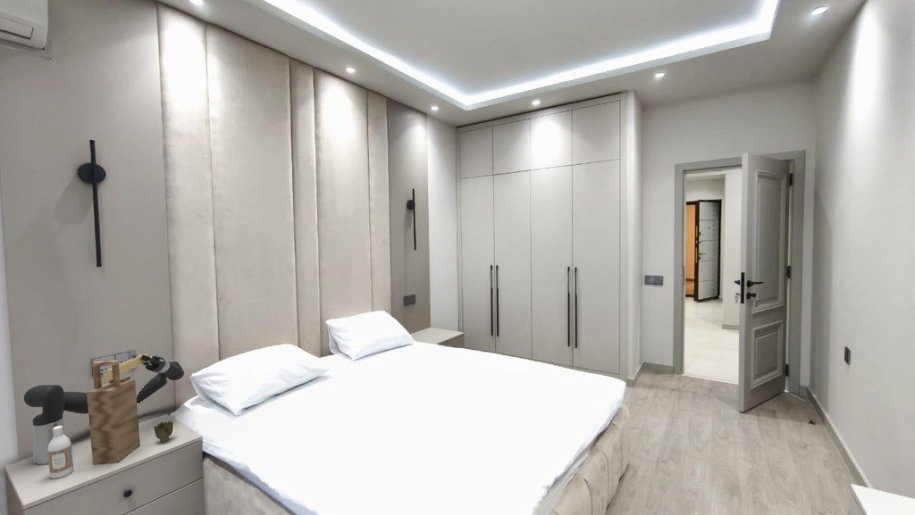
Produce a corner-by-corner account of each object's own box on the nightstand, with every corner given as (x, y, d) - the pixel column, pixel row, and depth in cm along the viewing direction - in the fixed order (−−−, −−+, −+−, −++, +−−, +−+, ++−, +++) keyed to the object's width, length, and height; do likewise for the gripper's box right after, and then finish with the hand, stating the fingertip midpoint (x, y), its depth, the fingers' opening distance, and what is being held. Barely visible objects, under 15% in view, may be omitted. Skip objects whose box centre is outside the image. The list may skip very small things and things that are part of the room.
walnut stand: (92, 465, 170) (84, 365, 167) (116, 447, 183) (109, 355, 181) (118, 462, 171) (110, 364, 168) (140, 445, 185) (133, 354, 182)
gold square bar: (103, 378, 172) (103, 371, 172) (143, 360, 198) (142, 353, 198) (112, 378, 173) (112, 370, 173) (150, 359, 198) (150, 353, 198)
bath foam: (47, 481, 159) (43, 433, 158) (52, 473, 165) (48, 426, 163) (71, 475, 163) (67, 428, 161) (75, 467, 168) (71, 421, 167)
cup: (166, 444, 185) (165, 428, 185) (151, 445, 185) (149, 428, 185) (178, 436, 192) (176, 420, 192) (163, 436, 193) (161, 420, 192)
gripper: (170, 371, 206) (151, 364, 191) (141, 373, 204) (119, 366, 189) (174, 356, 209) (155, 348, 194) (145, 358, 208) (123, 350, 192)
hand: (137, 357), depth 192 cm, fingers closed on gold square bar, 3 cm apart
